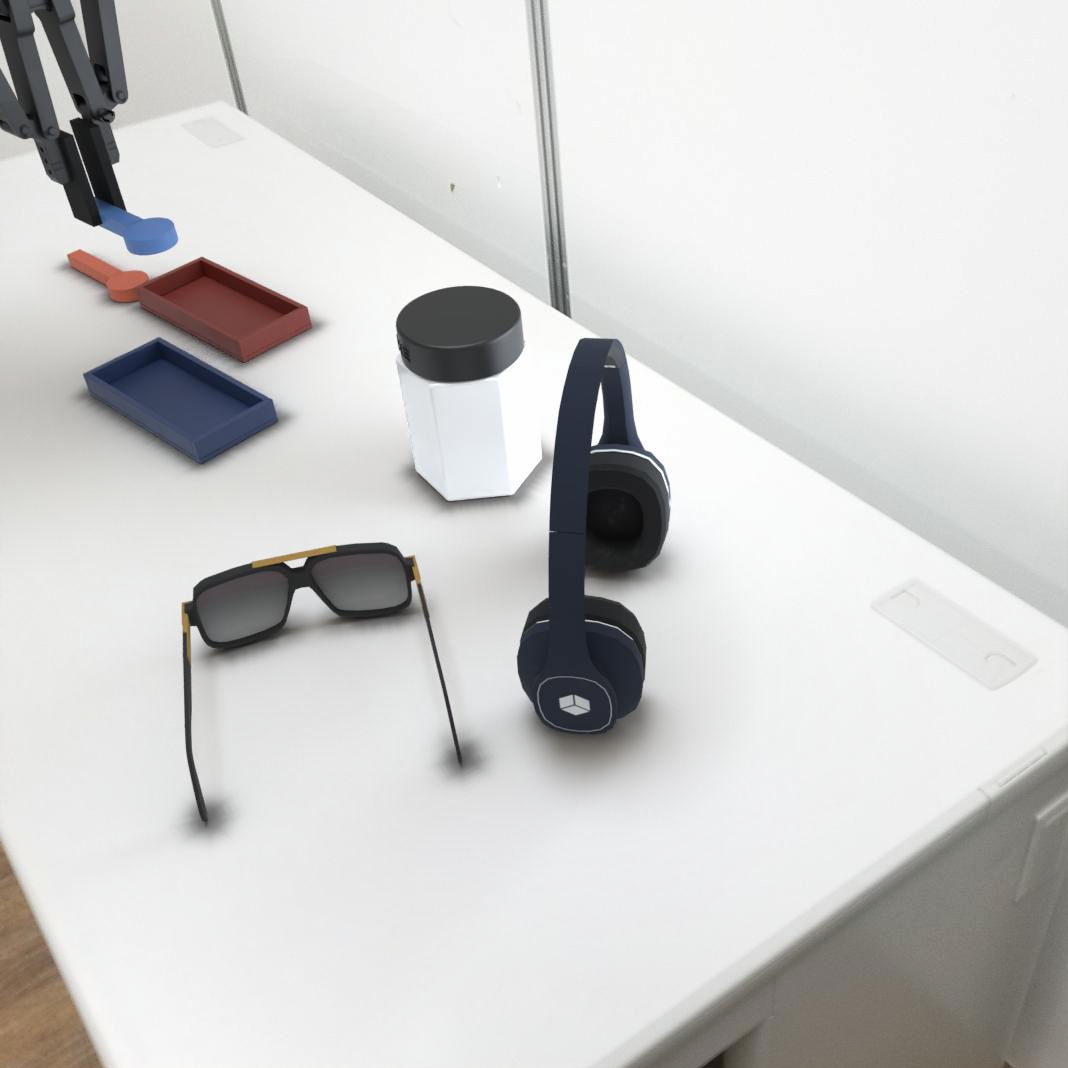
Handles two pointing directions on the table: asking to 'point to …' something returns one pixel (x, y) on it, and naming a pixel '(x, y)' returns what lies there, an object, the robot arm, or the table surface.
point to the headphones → (594, 552)
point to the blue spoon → (138, 230)
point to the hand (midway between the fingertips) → (100, 214)
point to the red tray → (224, 308)
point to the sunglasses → (266, 595)
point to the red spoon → (109, 275)
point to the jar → (468, 391)
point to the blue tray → (181, 399)
